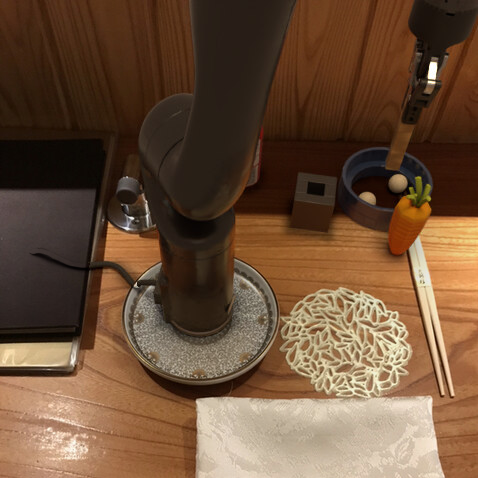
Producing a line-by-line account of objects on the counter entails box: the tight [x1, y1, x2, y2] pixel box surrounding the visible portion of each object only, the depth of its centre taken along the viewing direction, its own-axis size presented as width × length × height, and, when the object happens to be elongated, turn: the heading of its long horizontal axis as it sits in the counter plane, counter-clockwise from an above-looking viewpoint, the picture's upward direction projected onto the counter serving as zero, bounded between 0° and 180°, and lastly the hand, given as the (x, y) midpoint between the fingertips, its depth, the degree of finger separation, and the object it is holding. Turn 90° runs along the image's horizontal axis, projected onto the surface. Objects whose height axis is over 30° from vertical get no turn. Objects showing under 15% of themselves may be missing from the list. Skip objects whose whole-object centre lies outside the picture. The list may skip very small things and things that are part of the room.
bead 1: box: [358, 191, 377, 206], centre depth 90 cm, size 3×3×3 cm
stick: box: [386, 85, 416, 171], centre depth 80 cm, size 2×2×14 cm
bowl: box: [336, 146, 434, 233], centre depth 91 cm, size 14×14×6 cm
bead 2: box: [388, 174, 407, 194], centre depth 92 cm, size 3×3×3 cm
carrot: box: [387, 177, 432, 256], centre depth 81 cm, size 5×5×15 cm
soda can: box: [245, 125, 264, 188], centre depth 90 cm, size 6×6×12 cm
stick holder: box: [289, 171, 338, 234], centre depth 88 cm, size 6×6×7 cm
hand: (408, 116), depth 79 cm, fingers closed on stick, 2 cm apart
